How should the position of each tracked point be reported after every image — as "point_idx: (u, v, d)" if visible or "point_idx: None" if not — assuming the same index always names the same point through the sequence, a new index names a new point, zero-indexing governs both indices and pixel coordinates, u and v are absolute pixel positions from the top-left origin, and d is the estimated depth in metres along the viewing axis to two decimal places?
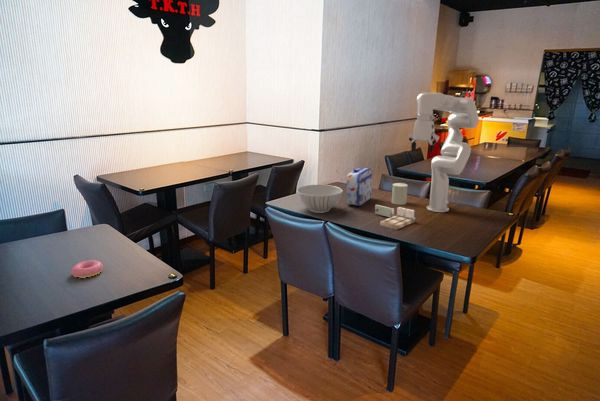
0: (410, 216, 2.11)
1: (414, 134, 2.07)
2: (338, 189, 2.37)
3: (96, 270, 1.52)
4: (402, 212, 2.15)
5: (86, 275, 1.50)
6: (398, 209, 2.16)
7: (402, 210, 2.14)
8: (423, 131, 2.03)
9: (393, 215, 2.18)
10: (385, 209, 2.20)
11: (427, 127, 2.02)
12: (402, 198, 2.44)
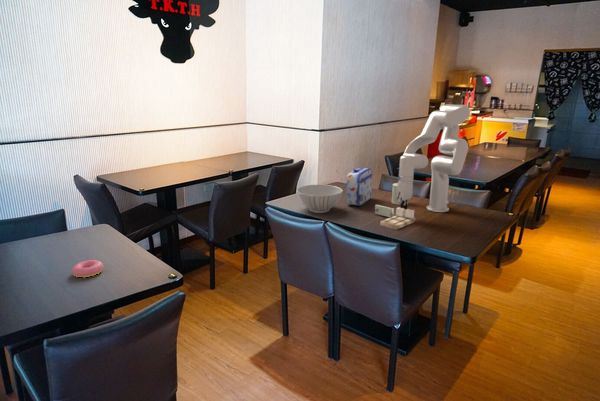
0: (410, 216, 2.11)
1: (404, 195, 2.11)
2: (338, 189, 2.37)
3: (97, 270, 1.52)
4: (401, 212, 2.14)
5: (86, 274, 1.50)
6: (397, 209, 2.15)
7: (401, 210, 2.14)
8: (410, 190, 2.14)
9: (393, 215, 2.18)
10: (385, 209, 2.20)
11: (411, 185, 2.15)
12: None
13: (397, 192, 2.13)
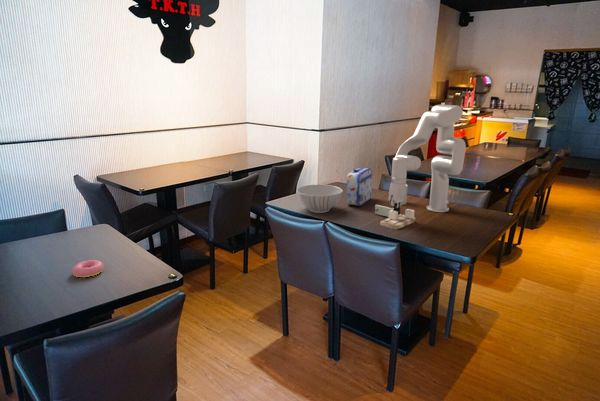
0: (410, 216, 2.11)
1: (397, 198, 2.06)
2: (338, 189, 2.37)
3: (97, 270, 1.52)
4: (394, 215, 2.09)
5: (87, 274, 1.50)
6: (390, 212, 2.10)
7: (394, 213, 2.09)
8: (403, 193, 2.09)
9: None
10: (385, 209, 2.20)
11: (404, 188, 2.10)
12: None
13: (390, 195, 2.08)
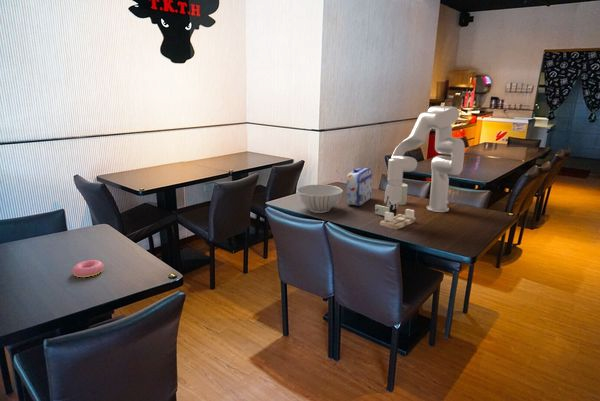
0: (410, 216, 2.11)
1: (393, 199, 2.04)
2: (338, 189, 2.37)
3: (97, 270, 1.52)
4: (390, 217, 2.07)
5: (87, 274, 1.50)
6: (386, 214, 2.08)
7: (390, 215, 2.06)
8: (399, 194, 2.07)
9: None
10: (385, 209, 2.20)
11: (400, 189, 2.07)
12: (402, 198, 2.44)
13: (386, 196, 2.05)
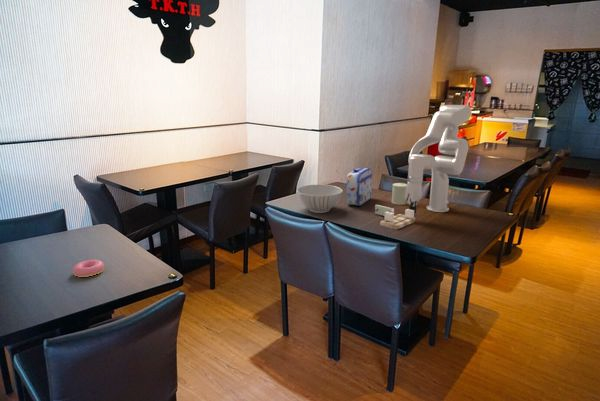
0: (410, 216, 2.11)
1: (414, 197, 2.08)
2: (338, 189, 2.37)
3: (97, 269, 1.53)
4: (390, 217, 2.06)
5: (87, 274, 1.50)
6: (386, 214, 2.08)
7: (390, 215, 2.06)
8: (419, 192, 2.11)
9: None
10: (385, 209, 2.20)
11: (421, 187, 2.12)
12: (402, 198, 2.44)
13: (406, 193, 2.10)
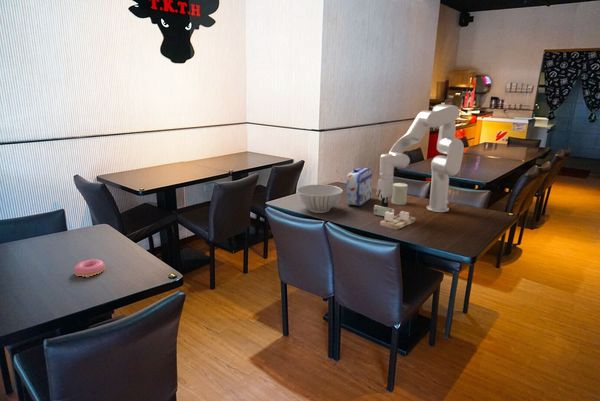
0: (405, 218, 2.08)
1: (384, 193, 2.17)
2: (338, 189, 2.37)
3: (98, 269, 1.53)
4: (390, 217, 2.06)
5: (88, 273, 1.51)
6: (386, 214, 2.08)
7: (390, 215, 2.06)
8: (390, 188, 2.19)
9: None
10: (385, 209, 2.20)
11: (392, 183, 2.20)
12: (402, 198, 2.44)
13: (377, 190, 2.18)
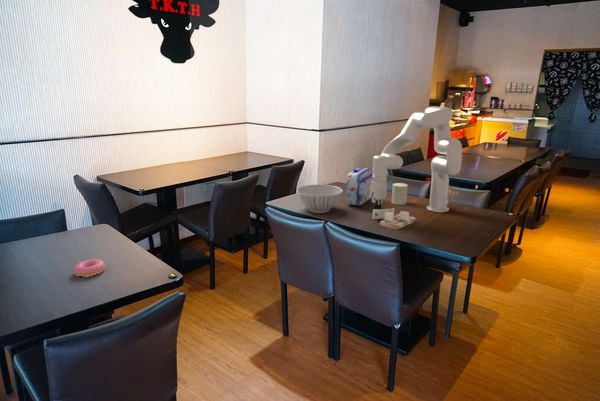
0: (405, 218, 2.08)
1: (377, 195, 2.12)
2: (338, 189, 2.37)
3: (98, 269, 1.53)
4: (390, 217, 2.06)
5: (88, 273, 1.51)
6: (386, 214, 2.08)
7: (390, 215, 2.06)
8: (383, 190, 2.15)
9: None
10: (385, 211, 2.16)
11: (385, 185, 2.16)
12: (402, 198, 2.44)
13: (370, 192, 2.14)
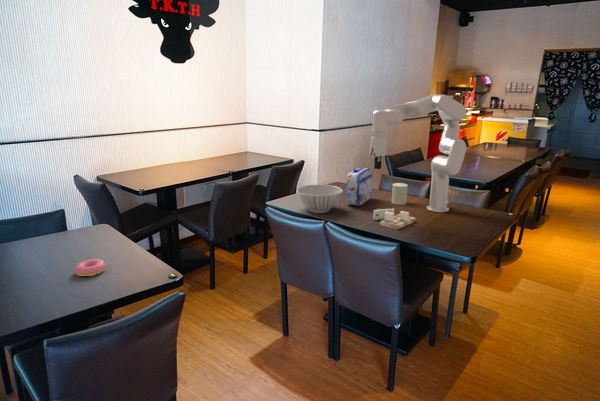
0: (405, 218, 2.08)
1: (377, 151, 2.08)
2: (338, 189, 2.37)
3: (99, 269, 1.53)
4: (390, 217, 2.06)
5: (89, 273, 1.51)
6: (386, 214, 2.08)
7: (390, 215, 2.06)
8: (384, 146, 2.11)
9: None
10: (386, 211, 2.16)
11: (385, 141, 2.11)
12: (402, 198, 2.44)
13: (370, 148, 2.09)
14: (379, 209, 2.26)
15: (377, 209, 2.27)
